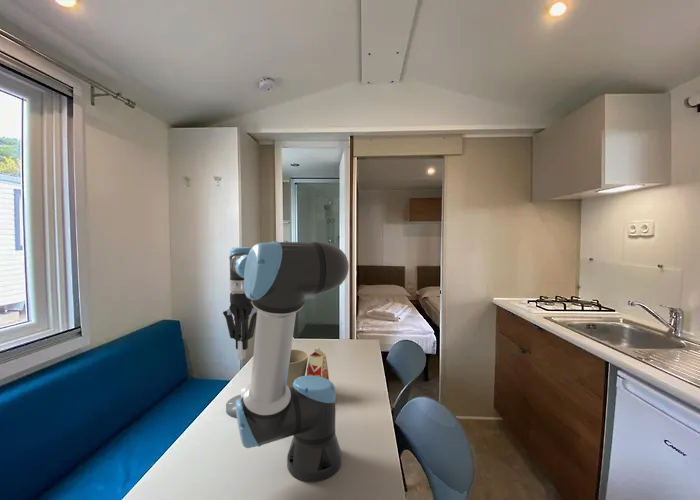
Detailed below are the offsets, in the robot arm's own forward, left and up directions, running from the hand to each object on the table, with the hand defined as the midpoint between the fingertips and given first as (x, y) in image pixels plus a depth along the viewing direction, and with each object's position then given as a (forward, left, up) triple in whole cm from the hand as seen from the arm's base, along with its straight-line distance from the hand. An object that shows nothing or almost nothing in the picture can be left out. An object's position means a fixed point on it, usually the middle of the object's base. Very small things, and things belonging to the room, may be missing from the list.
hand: (241, 358), depth 114 cm
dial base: (+5, +2, -20) cm, 21 cm away
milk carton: (+20, -20, -21) cm, 35 cm away
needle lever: (+3, 0, -18) cm, 18 cm away
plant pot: (+18, -9, -21) cm, 29 cm away
